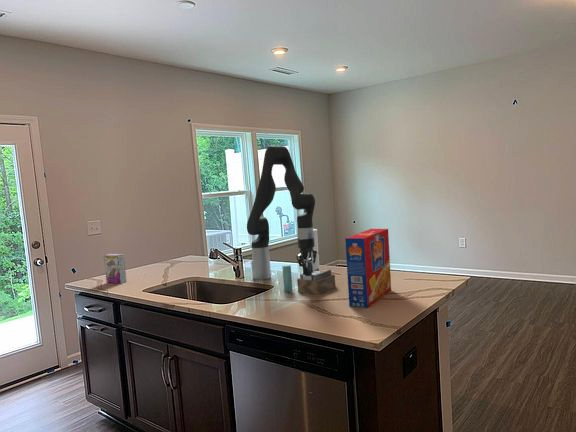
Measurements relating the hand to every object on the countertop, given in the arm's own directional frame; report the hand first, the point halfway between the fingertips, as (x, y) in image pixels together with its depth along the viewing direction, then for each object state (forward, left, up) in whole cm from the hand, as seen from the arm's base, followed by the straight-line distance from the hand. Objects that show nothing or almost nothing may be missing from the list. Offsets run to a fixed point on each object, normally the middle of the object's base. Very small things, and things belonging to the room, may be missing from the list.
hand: (308, 274), depth 204 cm
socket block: (0, +6, -9) cm, 11 cm away
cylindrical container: (-17, +28, -9) cm, 34 cm away
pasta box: (+30, +3, -9) cm, 32 cm away
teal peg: (-11, -2, -9) cm, 14 cm away
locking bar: (0, +4, -3) cm, 5 cm away
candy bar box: (-117, -27, -9) cm, 120 cm away
